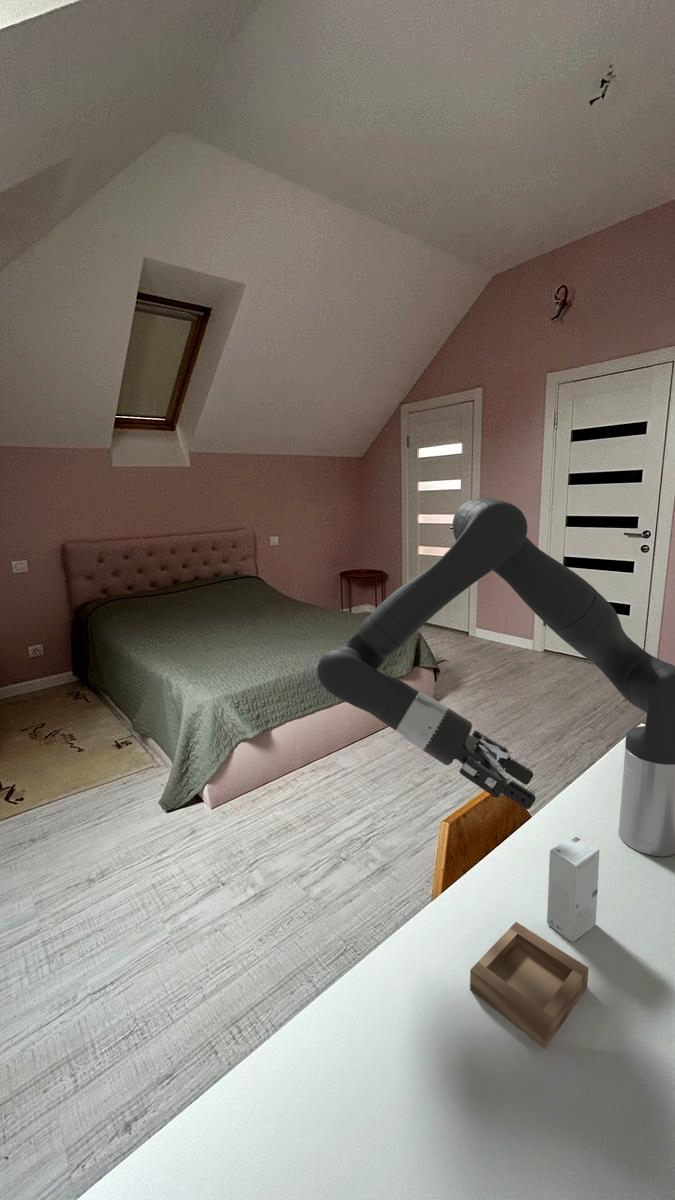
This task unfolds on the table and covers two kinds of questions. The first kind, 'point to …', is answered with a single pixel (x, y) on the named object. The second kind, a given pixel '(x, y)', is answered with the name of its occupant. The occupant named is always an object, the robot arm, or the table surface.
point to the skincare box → (573, 888)
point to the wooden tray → (529, 982)
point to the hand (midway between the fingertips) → (531, 790)
